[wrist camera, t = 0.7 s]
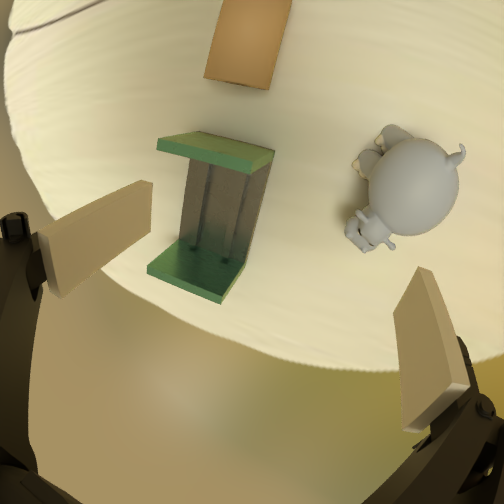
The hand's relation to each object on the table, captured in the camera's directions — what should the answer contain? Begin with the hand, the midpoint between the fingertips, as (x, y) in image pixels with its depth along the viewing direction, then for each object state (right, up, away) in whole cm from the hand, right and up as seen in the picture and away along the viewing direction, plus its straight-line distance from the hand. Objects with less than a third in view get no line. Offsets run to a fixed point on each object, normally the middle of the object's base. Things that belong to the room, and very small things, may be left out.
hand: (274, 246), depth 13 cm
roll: (-1, +24, +14) cm, 28 cm away
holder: (-5, +6, +24) cm, 26 cm away
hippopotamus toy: (+15, +8, +17) cm, 24 cm away
